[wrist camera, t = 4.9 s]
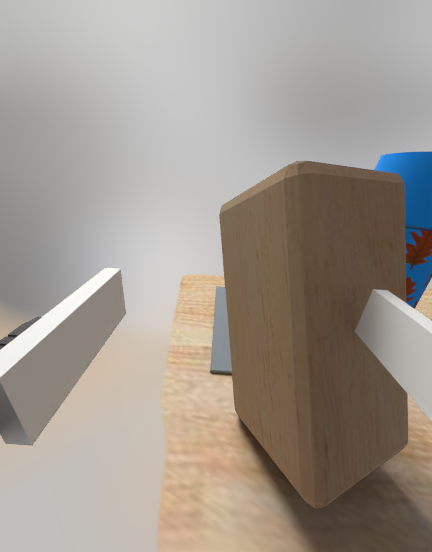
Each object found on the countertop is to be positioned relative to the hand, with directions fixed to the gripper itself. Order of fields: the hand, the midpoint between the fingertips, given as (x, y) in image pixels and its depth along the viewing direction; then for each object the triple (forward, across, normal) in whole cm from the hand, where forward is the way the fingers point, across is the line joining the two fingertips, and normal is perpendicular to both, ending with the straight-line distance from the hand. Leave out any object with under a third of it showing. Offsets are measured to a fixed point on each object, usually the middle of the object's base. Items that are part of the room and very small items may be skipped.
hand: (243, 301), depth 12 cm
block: (+1, +8, -13) cm, 15 cm away
